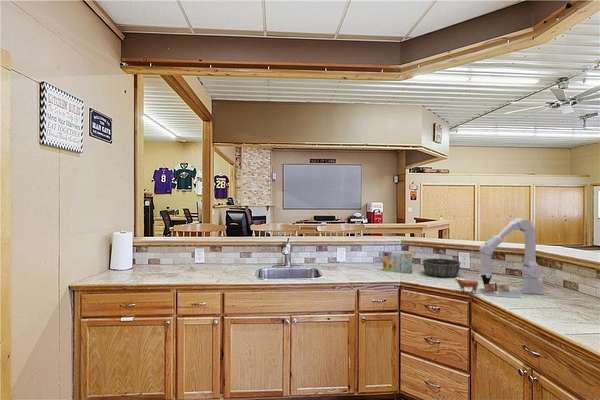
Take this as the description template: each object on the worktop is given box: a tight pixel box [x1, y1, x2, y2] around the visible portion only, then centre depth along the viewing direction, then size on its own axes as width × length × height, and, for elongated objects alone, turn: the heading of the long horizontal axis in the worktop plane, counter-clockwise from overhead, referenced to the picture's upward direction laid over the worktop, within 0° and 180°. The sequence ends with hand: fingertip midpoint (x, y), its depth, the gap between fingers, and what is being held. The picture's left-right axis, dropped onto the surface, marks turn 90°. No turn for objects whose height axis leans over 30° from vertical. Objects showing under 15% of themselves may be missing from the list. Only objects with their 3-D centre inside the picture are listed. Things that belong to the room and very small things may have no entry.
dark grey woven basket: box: [421, 257, 462, 278], centre depth 265 cm, size 26×26×10 cm
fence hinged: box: [484, 283, 495, 291], centre depth 215 cm, size 6×1×4 cm, turn 102°
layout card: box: [480, 288, 522, 299], centre depth 212 cm, size 18×16×1 cm
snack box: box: [382, 250, 413, 274], centre depth 277 cm, size 21×6×15 cm, turn 58°
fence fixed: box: [494, 282, 510, 292], centre depth 215 cm, size 8×1×5 cm, turn 72°
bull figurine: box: [453, 276, 479, 295], centre depth 216 cm, size 4×13×8 cm, turn 51°
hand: (486, 287), depth 216 cm, fingers closed, pressing on fence hinged
